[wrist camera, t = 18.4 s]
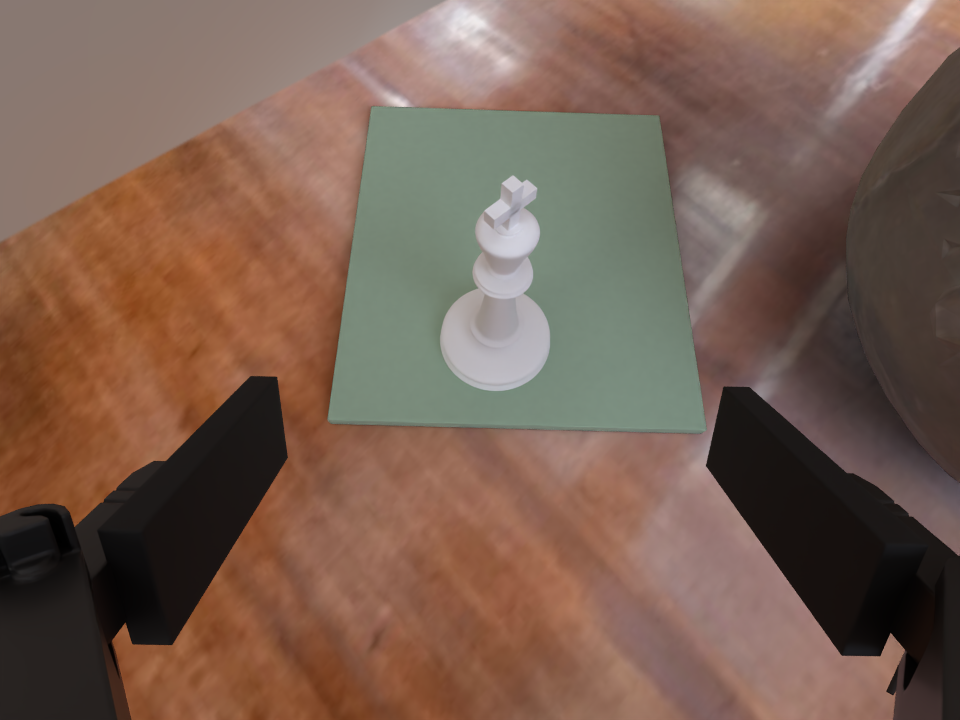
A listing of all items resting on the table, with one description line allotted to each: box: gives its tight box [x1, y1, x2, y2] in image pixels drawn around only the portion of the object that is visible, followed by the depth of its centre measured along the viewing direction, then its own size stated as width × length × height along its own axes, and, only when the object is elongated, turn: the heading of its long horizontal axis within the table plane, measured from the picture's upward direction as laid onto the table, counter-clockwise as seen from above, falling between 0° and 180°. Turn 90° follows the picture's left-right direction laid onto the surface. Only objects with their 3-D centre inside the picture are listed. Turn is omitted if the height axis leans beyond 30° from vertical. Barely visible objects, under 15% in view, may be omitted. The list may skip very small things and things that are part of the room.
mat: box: [328, 106, 707, 434], centre depth 26 cm, size 16×18×1 cm
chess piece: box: [440, 175, 550, 391], centre depth 19 cm, size 5×5×10 cm
